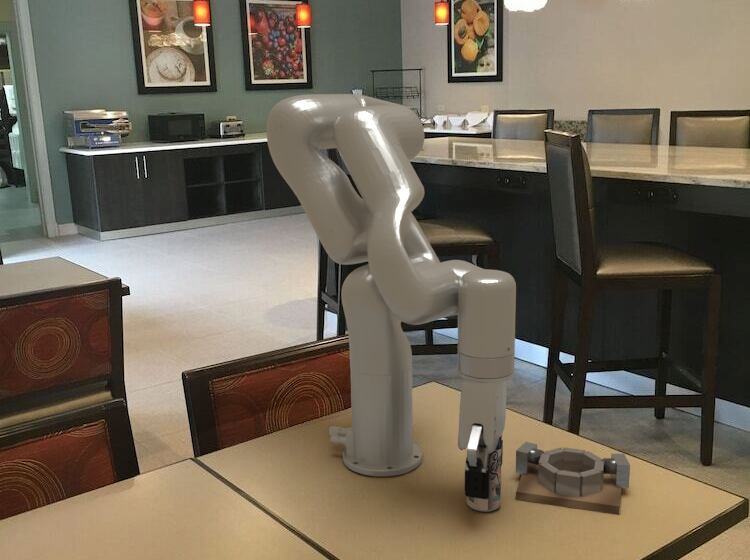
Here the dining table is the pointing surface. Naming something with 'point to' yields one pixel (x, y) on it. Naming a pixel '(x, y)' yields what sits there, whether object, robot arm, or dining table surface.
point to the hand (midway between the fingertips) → (484, 480)
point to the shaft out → (618, 470)
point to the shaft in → (527, 458)
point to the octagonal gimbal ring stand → (570, 482)
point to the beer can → (490, 482)
